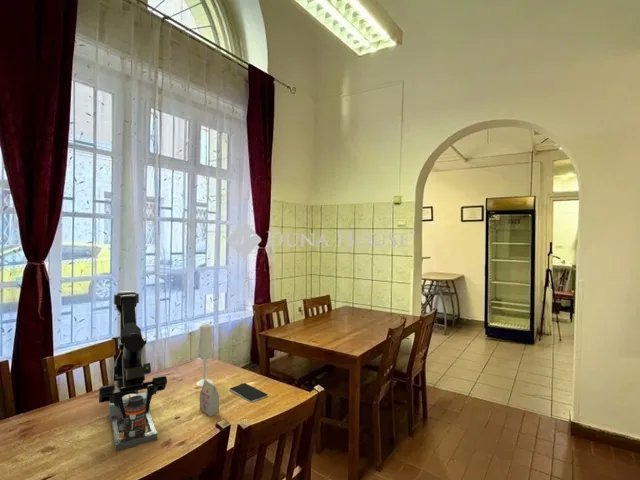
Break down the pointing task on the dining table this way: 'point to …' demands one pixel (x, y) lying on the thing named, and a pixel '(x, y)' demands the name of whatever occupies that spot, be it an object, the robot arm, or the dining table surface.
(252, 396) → the smartphone
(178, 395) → the dining table surface
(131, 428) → the supplement bottle
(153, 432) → the grey rectangular frame
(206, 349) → the champagne flute
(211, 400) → the tea bag
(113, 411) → the gray rotary dial box
